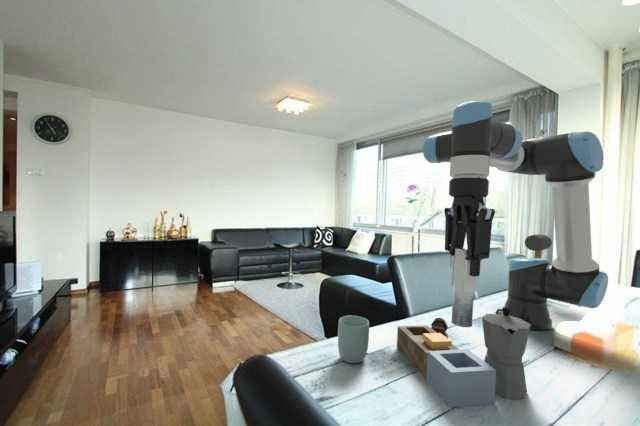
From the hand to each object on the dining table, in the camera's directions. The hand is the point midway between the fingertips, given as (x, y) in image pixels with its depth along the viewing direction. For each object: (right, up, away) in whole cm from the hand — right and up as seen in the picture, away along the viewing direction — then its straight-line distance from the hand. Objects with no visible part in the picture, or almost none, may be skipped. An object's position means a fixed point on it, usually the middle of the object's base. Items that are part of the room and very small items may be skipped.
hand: (463, 287), depth 66 cm
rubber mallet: (+68, -24, +76) cm, 104 cm away
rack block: (-1, -22, 0) cm, 23 cm away
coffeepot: (+10, -23, +4) cm, 26 cm away
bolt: (+6, -23, +30) cm, 38 cm away
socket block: (-3, -22, +14) cm, 26 cm away
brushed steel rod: (0, -8, 0) cm, 8 cm away
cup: (-22, -22, +13) cm, 34 cm away
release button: (-2, -21, +9) cm, 23 cm away
